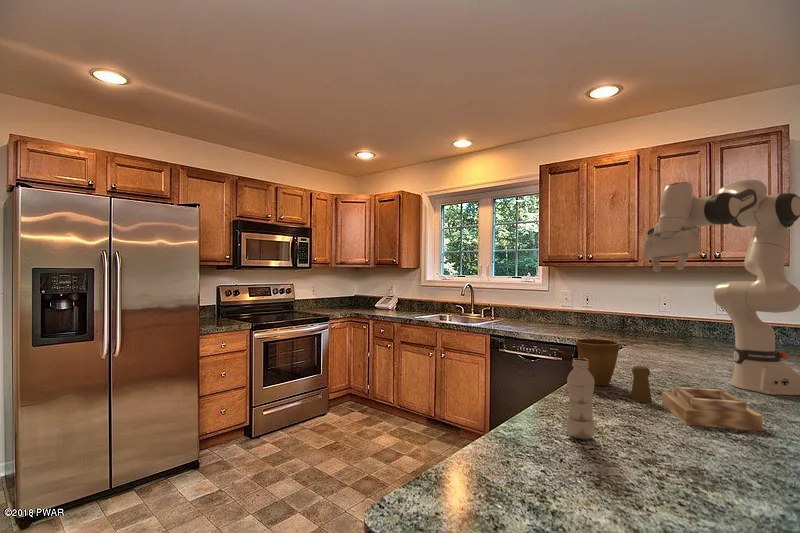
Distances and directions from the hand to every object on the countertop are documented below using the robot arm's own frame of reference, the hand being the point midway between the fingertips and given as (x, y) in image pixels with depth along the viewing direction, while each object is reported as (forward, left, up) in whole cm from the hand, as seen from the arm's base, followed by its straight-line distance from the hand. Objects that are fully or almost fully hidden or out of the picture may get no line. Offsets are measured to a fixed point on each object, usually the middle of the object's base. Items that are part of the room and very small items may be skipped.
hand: (667, 270), depth 135 cm
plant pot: (+18, -18, -43) cm, 50 cm away
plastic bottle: (+33, +38, -43) cm, 66 cm away
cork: (+8, -1, -43) cm, 44 cm away
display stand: (-6, +12, -43) cm, 45 cm away
